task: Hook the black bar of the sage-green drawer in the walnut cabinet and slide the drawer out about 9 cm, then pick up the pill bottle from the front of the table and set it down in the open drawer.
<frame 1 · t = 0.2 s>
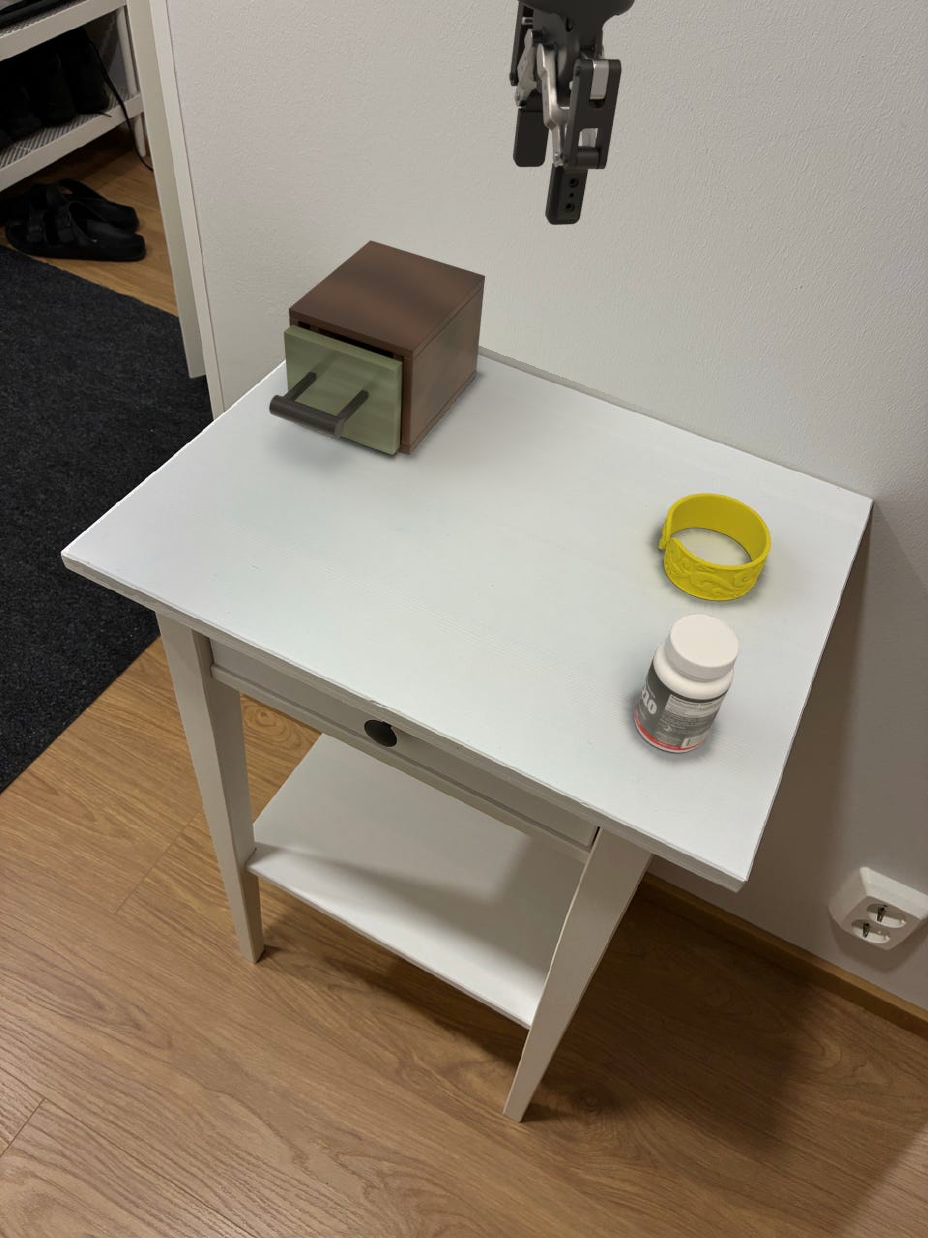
hand: (544, 192, 66), 20 cm above the table, tool pointing down, fingers open, 8 cm apart
drawer: (359, 375, 76), point 5 cm above the table, slide at 0.5 cm
pill bottle: (669, 725, 61), on the table
cabinet: (388, 394, 82), on the table
bracelet: (706, 563, 72), on the table
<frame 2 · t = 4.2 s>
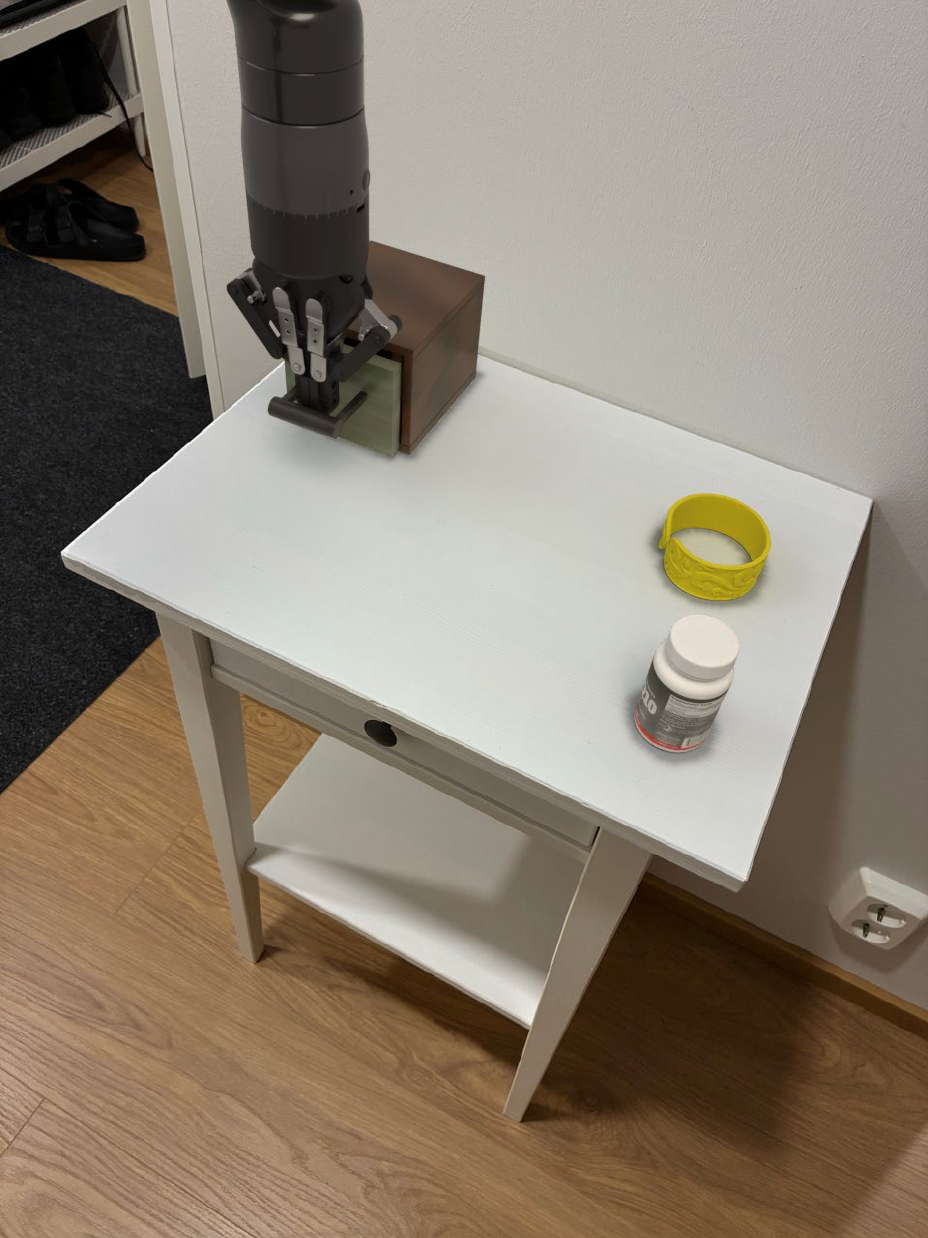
hand: (319, 412, 72), 5 cm above the table, tool pointing down, fingers closed
drawer: (358, 376, 75), point 5 cm above the table, slide at 0.7 cm, touching gripper
everything else where it was.
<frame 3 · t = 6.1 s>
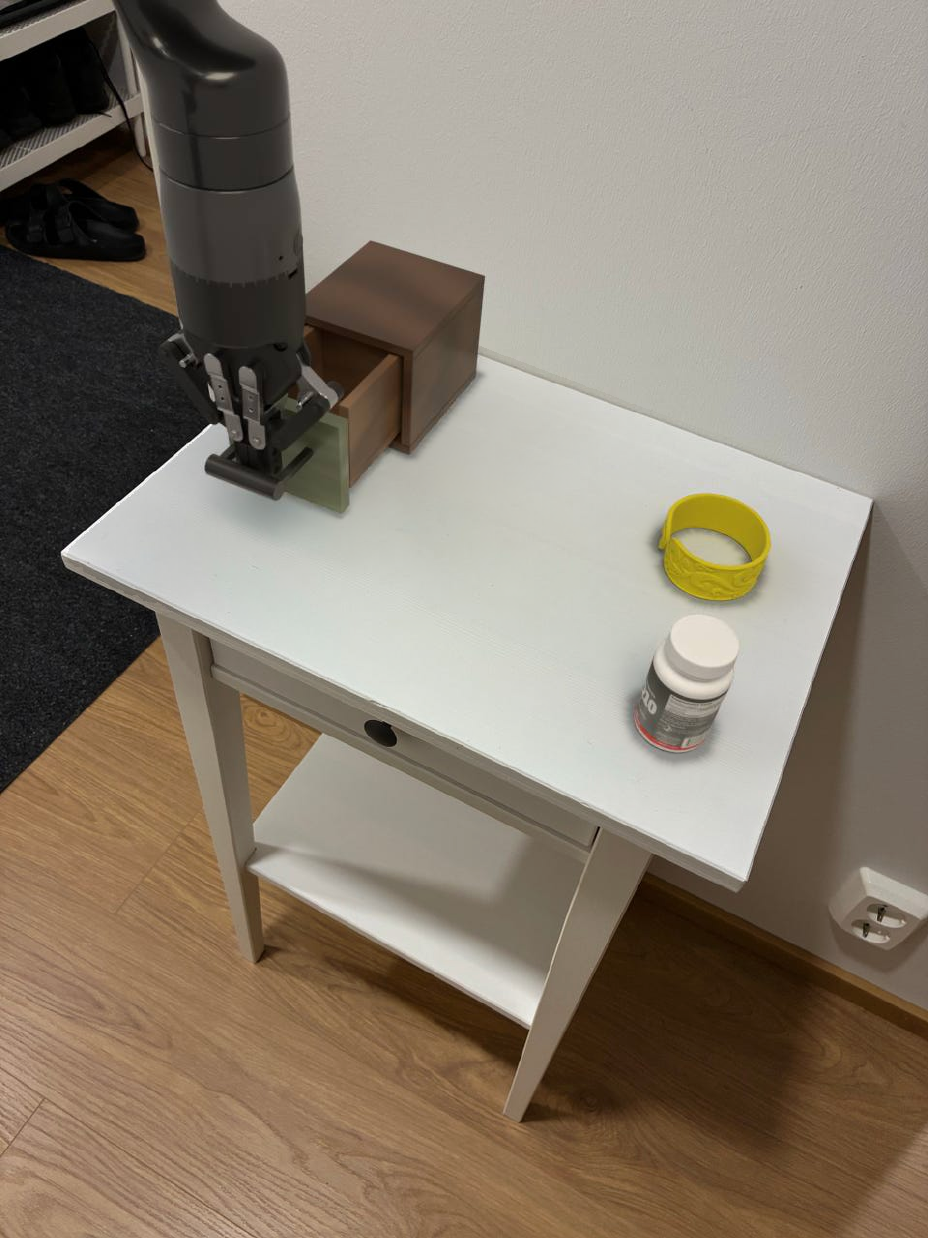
hand: (261, 478, 67), 4 cm above the table, tool pointing down, fingers closed
drawer: (305, 428, 71), point 5 cm above the table, slide at 8.4 cm, touching gripper
everything else where it was.
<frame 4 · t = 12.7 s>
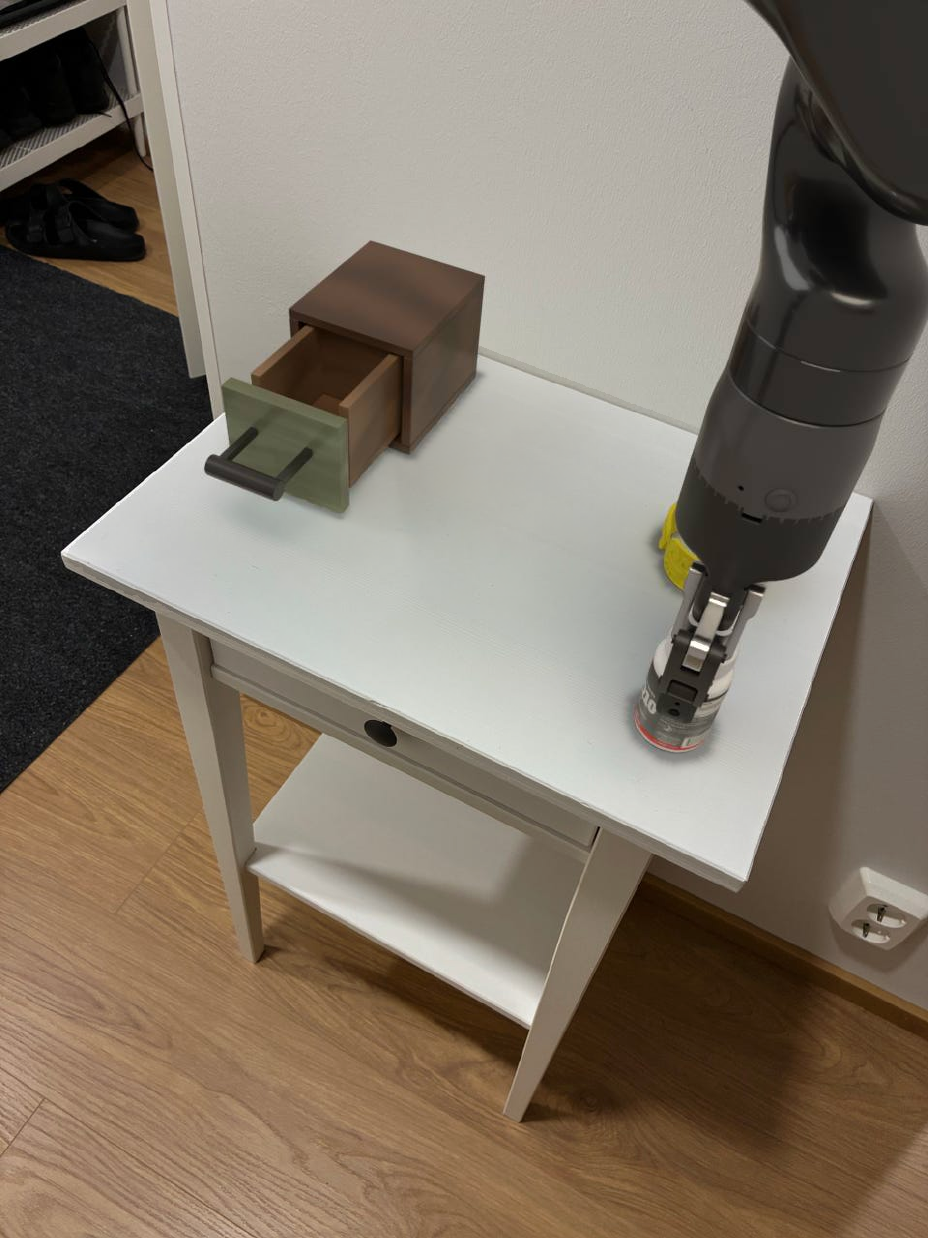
hand: (686, 681, 58), 4 cm above the table, tool pointing down, fingers closed on pill bottle, 4 cm apart
drawer: (305, 428, 71), point 5 cm above the table, slide at 8.4 cm
pill bottle: (669, 725, 61), on the table, touching gripper
everything else where it was.
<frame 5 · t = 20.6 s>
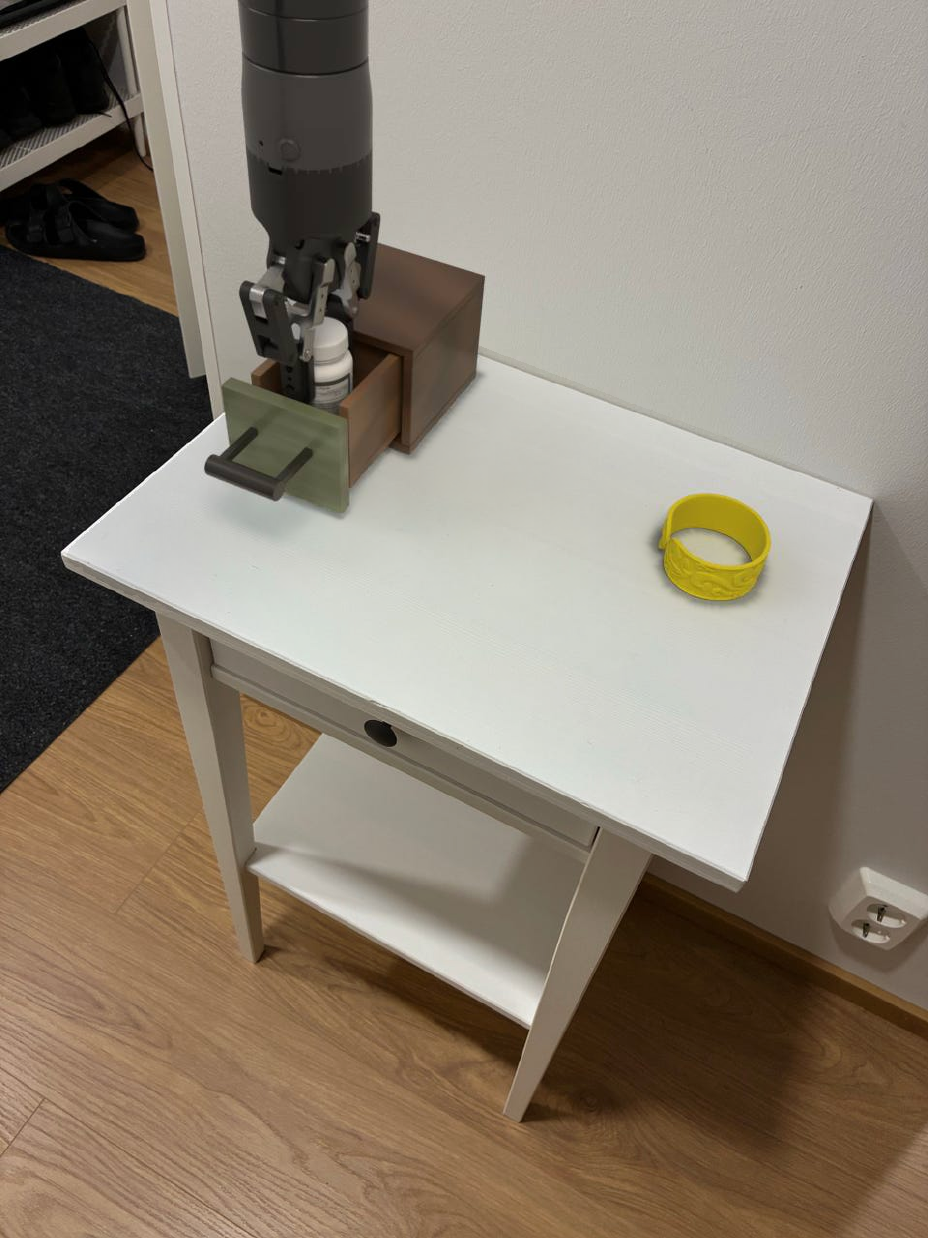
hand: (319, 379, 70), 8 cm above the table, tool pointing down, fingers closed on pill bottle, 4 cm apart
pill bottle: (321, 430, 73), point 3 cm above the table, touching gripper
everything else where it was.
when the fingers open (10 cm above the table, at t = 34.0 s): pill bottle drops 4 cm, resting on drawer.
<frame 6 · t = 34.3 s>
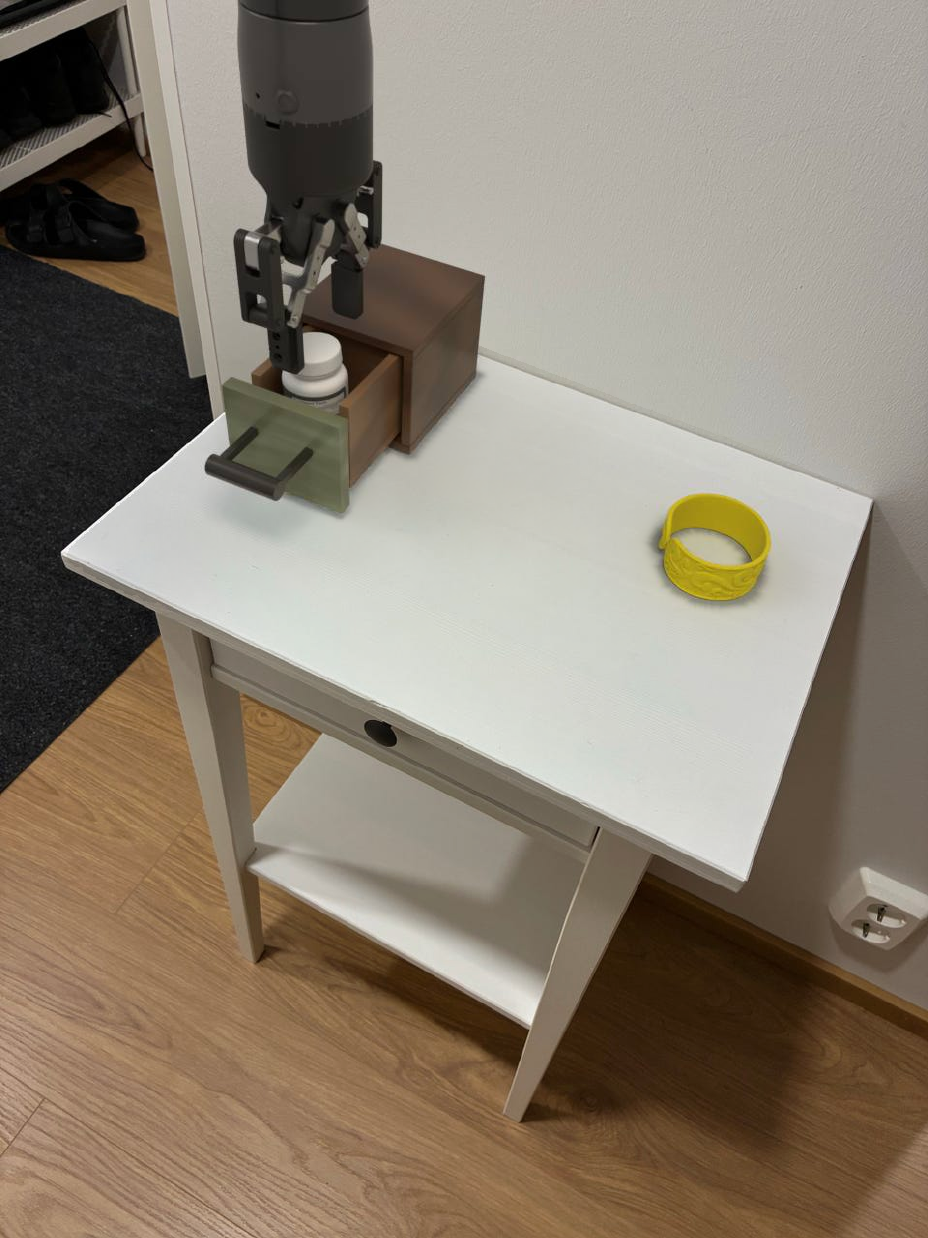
hand: (318, 340, 68), 11 cm above the table, tool pointing down, fingers open, 7 cm apart
drawer: (305, 428, 71), point 5 cm above the table, slide at 8.4 cm, touching pill bottle
pill bottle: (321, 443, 74), point 2 cm above the table, touching drawer
everything else where it was.
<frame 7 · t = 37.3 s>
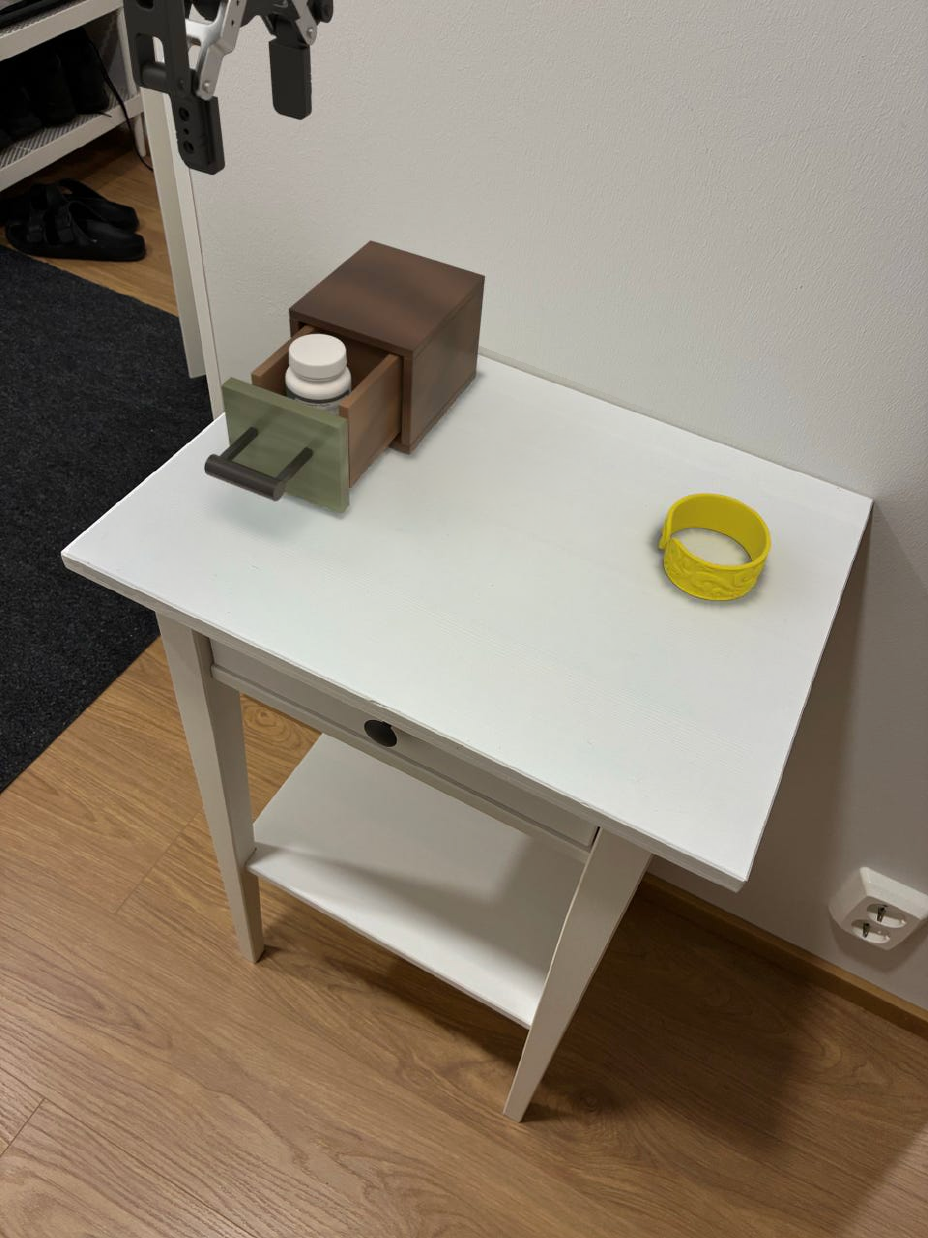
hand: (250, 141, 53), 26 cm above the table, tool pointing down, fingers open, 8 cm apart
nothing on the table moved.
at the end: drawer slide at 8.4 cm; pill bottle inside the target area in the drawer (0.3 cm from its centre), point 1.8 cm above the cabinet's base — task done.
